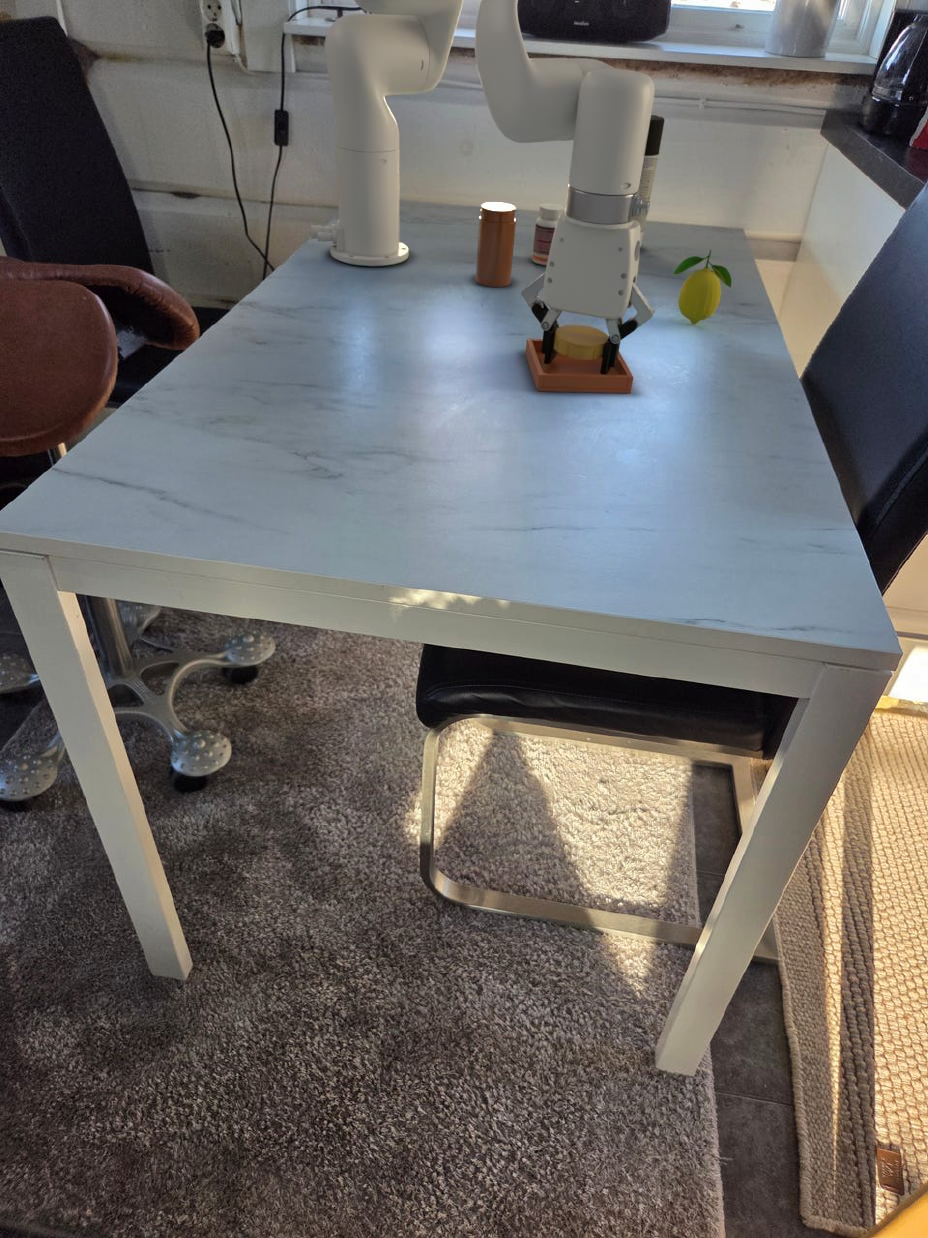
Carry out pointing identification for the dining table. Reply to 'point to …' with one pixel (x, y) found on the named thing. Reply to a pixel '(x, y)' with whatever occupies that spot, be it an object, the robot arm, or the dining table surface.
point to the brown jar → (495, 244)
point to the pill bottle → (545, 231)
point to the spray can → (649, 165)
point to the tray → (576, 373)
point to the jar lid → (580, 342)
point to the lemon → (701, 289)
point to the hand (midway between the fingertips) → (577, 364)
